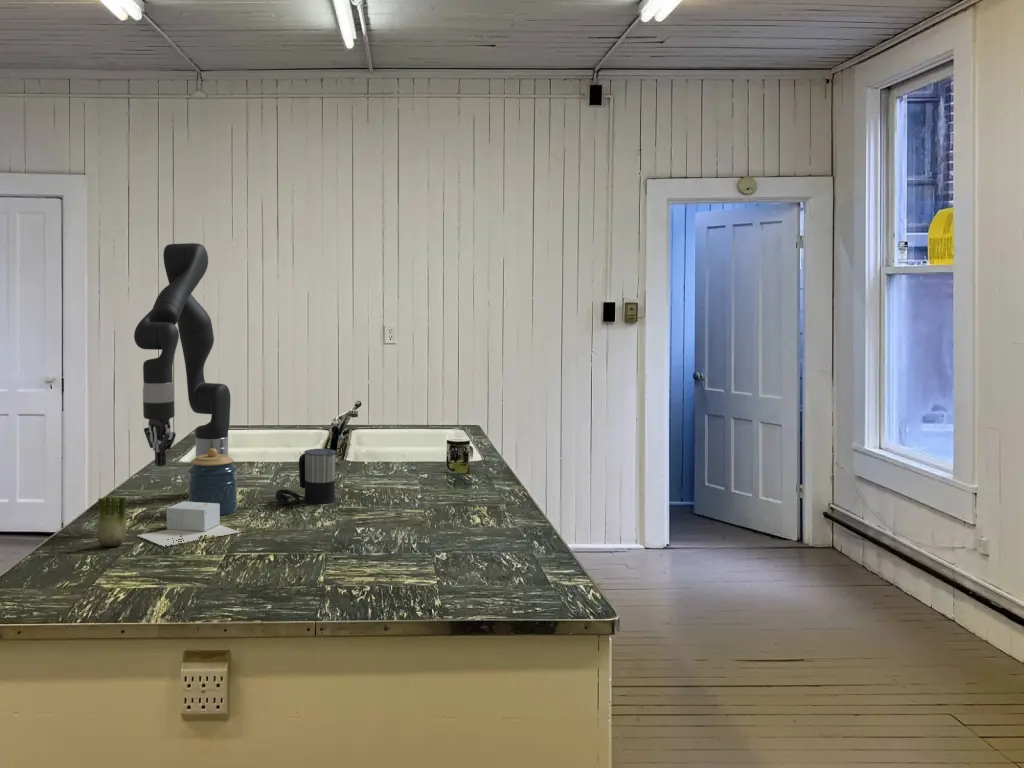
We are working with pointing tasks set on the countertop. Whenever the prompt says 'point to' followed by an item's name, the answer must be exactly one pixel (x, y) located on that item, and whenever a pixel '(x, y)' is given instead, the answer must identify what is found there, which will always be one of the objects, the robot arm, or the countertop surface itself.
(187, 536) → the mat
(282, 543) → the countertop surface
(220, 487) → the canister
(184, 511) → the small box
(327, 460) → the milk frother
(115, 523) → the fennel bulb
